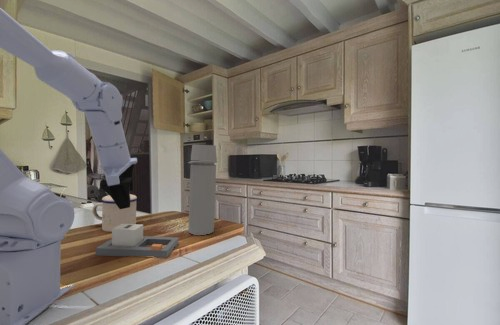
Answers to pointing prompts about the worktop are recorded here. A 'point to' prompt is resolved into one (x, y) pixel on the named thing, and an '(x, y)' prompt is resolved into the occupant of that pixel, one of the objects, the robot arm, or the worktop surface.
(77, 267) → the worktop surface
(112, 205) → the teacup with lid
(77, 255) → the worktop surface
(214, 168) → the water bottle
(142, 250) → the grey divided tray
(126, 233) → the block
